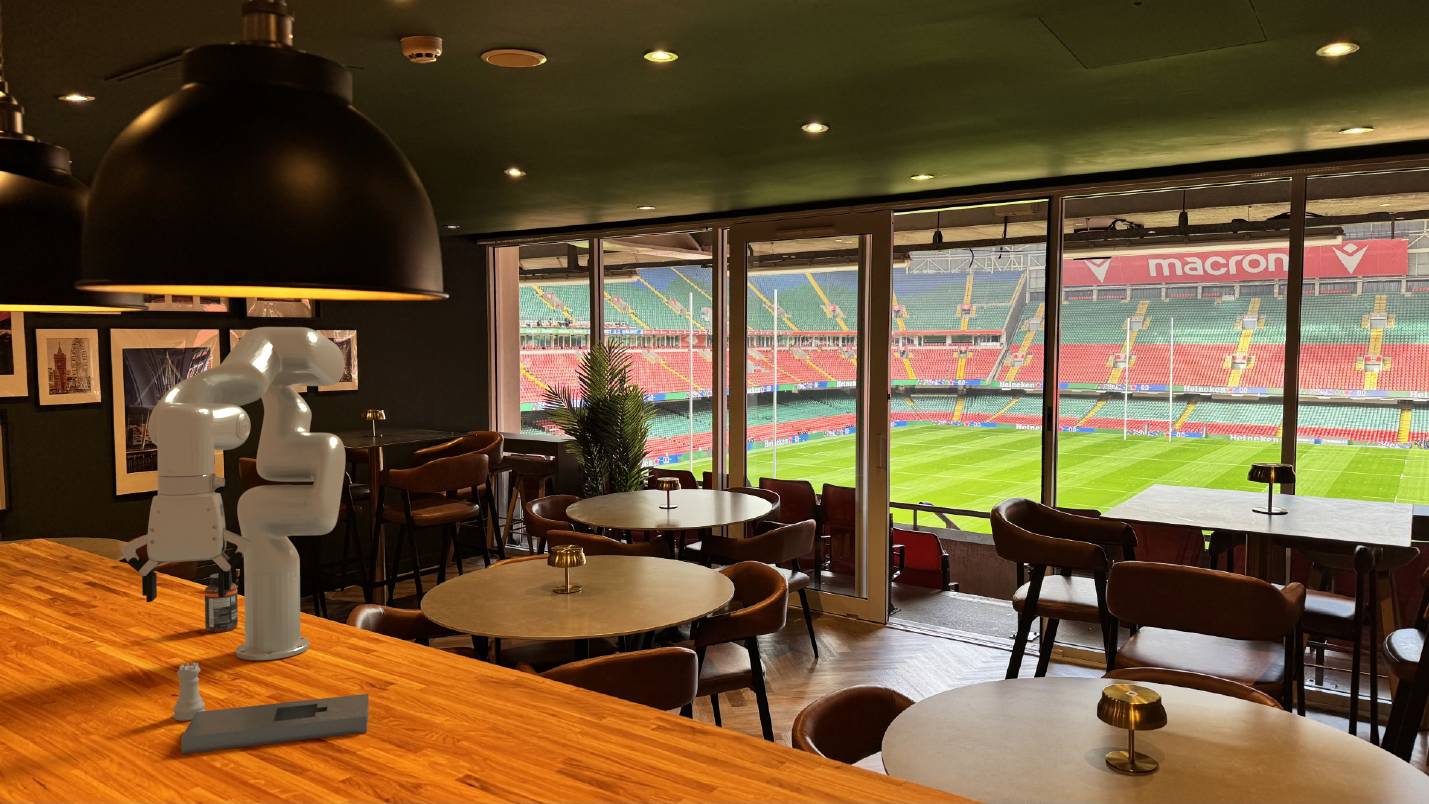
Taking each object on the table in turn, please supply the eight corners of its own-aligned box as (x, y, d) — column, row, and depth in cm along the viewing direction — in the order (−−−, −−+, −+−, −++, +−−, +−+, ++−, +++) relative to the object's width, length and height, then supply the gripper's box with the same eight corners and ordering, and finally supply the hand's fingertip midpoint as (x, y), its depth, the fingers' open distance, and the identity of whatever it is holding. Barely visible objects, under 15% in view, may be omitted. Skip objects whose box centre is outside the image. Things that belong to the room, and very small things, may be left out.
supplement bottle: (208, 626, 190) (208, 572, 189) (240, 624, 192) (239, 570, 191) (202, 634, 184) (201, 578, 184) (234, 631, 186) (233, 576, 185)
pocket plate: (196, 727, 136) (196, 711, 135) (368, 708, 143) (368, 693, 143) (181, 754, 126) (181, 737, 126) (366, 732, 134) (366, 716, 134)
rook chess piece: (212, 712, 142) (212, 662, 141) (189, 723, 137) (188, 671, 137) (189, 709, 143) (188, 659, 143) (165, 720, 138) (164, 668, 138)
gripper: (252, 482, 145) (253, 588, 146) (127, 485, 140) (129, 596, 140) (245, 487, 138) (246, 599, 139) (113, 491, 133) (115, 608, 133)
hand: (187, 597), depth 139 cm, fingers open, 9 cm apart
